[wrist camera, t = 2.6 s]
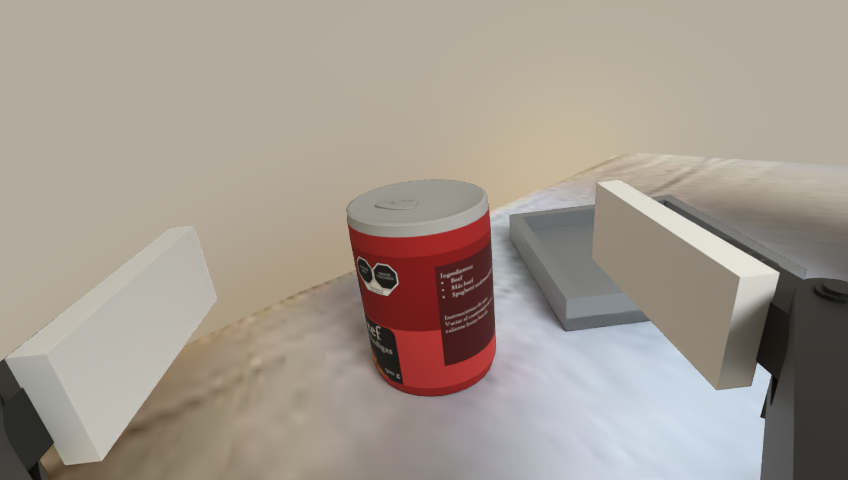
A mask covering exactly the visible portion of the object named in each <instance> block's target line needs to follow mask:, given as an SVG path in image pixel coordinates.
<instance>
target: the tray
mask: <svg viewBox="0 0 848 480" xmlns="http://www.w3.org/2000/svg"><path fill="white" fill-rule="evenodd" d="M652 199H653V200H655V201H657V202H658V203H660V204H662V205H664V206H665V207H667V208H669V209H671V210H672V211H674V212H676V213H677V214H679V215H681V216H683V217H684V218H686V219H688V220H689V221H691V222H693V223H695V224H696V225H698V226H700V227H702V228H703V229H705V230H707V231H708V232H710V233H712V234H714V235H717V236H720V237H723V238H726V239H729V240H732V241H736V242H738V243H739V244H741V245H743V246H745V247H746V248H748V249H750V250H752V253H753V252H755V253H757V254H759V255H761V256H762V257H764V258H765V260H770V261H771V262H773V263H775V264H777V265H778V266H780V267H782V268H784V269H786V270H787V271H789V272H791V273H793V274H794V275H796V276H798V277H800V278H802V279H803V280H804V279H805V275H806V272H807V270H806V269H805V268H803V267H801V266H799V265H797V264H795V263H794V262H792V261H790V260H788V259H786V258H784V257H783V256H781V255H779V254H777V253H775V252H773V251H771V250H770V249H768V248H766V247H764V246H762V245H760V244H759V243H757V242H755V241H753V240H751V239H749V238H748V237H746V236H744V235H742V234H740V233H738V232H737V231H735V230H733V229H731V228H729V227H727V226H726V225H724V224H722V223H720V222H718V221H716V220H715V219H713V218H711V217H709V216H707V215H705V214H704V213H702V212H700V211H698V210H696V209H694V208H693V207H691V206H689V205H687V204H685V203H683V202H682V201H680V200H678V199H676V198H674V197H672V196H670V195H669V196H660V197H652ZM594 216H595V205H587V206H578V207H570V208H562V209H554V210H546V211H537V212H529V213H521V214H513V215H509V217H510V239H511V240H512V242H513V244H514V245H515V247H516V249H517V250H518V252H519V254H520V255H521V257H522V259H523V260H524V262H525V264H526V265H527V267H528V269H529V270H530V272H531V274H532V276H533V277H534V279H535V281H536V282H537V284H538V286H539V287H540V289H541V291H542V292H543V294H544V296H545V297H546V299H547V301H548V302H549V304H550V306H551V307H552V309H553V311H554V312H555V314H556V316H557V317H558V319H559V321H560V322H561V324H562V326H563V327H564V329H565V331H572V330H580V329H588V328H596V327H604V326H612V325H620V324H628V323H636V322H644V321H651V320H650V319H649V318H648V317H647V316H646V315H645V314H644V313H643V312H642V311H641V310H640V309H639V308H638V307H637V306H636V304H635V303H634V302H633V301H632V300H631V299H630V298H629V297H628V296H627V295H626V294H625V293H624V292H623V291H622V290H621V289H620V288H619V286H618V285H617V284H616V283H615V282H614V281H613V280H612V279H611V278H610V277H609V276H608V275H607V274H606V273H605V272H604V271H603V269H602V268H601V267H600V266H599V265H598V264H597V263H596V262H595V261H594V260H593V259H592V248H593V232H594Z"/></svg>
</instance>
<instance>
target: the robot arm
mask: <svg viewBox="0 0 848 480" xmlns="http://www.w3.org/2000/svg"><path fill="white" fill-rule="evenodd" d="M592 259H593V260H594V261H595V262H596V263H597V264H598V265H599V266H600V267H601V268H602V269H603V271H604V272H605V273H606V274H607V275H608V276H609V277H610V278H611V279H612V280H613V281H614V282H615V283H616V284H617V285H618V286H619V288H620V289H621V290H622V291H623V292H624V293H625V294H626V295H627V296H628V297H629V298H630V299H631V300H632V301H633V302H634V303H635V304H636V306H637V307H638V308H639V309H640V310H641V311H642V312H643V313H644V314H645V315H646V316H647V317H648V318H649V319H650V320H651V321H652V322H653V324H654V325H655V326H656V327H657V328H658V329H659V330H660V331H661V332H662V333H663V334H664V335H665V336H666V337H667V338H668V339H669V341H670V342H671V343H672V344H673V345H674V346H675V347H676V348H677V349H678V350H679V351H680V352H681V353H682V354H683V355H684V356H685V357H686V359H687V360H688V361H689V362H690V363H691V364H692V365H693V366H694V367H695V368H696V369H697V370H698V371H699V372H700V373H701V374H702V376H703V377H704V378H705V379H706V380H707V381H708V382H709V383H710V384H711V385H712V386H713V387H714V388H715V389H716V390H722V389H731V388H740V387H748V386H751V385H752V381H753V377H754V373H755V369H756V365H757V362H758V363H759V364H760V365H761V366H762V367H764V368H765V369H766V370H767V371H768V372H769V373H770V374H772V376H771V379H770V383H769V387H768V390H767V394H766V398H765V402H764V405H763V409H762V413H761V416H760V417H761V418H764V419H765V429H764V441H763V454H762V466H761V478H760V480H848V282H846V281H842V280H837V279H827V278H809V279H805V280H803V279H802V278H800V277H798V276H796V275H794V274H793V273H791V272H789V271H787V270H786V269H784V268H782V267H780V266H778V265H777V264H775V263H773V262H771V261H770V260H765V258H764V257H762V256H761V255H759V254H757V253H755V252H753V253H752V250H750V249H748V248H746V247H745V246H743V245H741V244H739V243H738V242H736V241H732V240H729V239H726V238H723V237H720V236H717V235H714V234H712V233H710V232H708V231H707V230H705V229H703V228H702V227H700V226H698V225H696V224H695V223H693V222H691V221H689V220H688V219H686V218H684V217H683V216H681V215H679V214H677V213H676V212H674V211H672V210H671V209H669V208H667V207H665V206H664V205H662V204H660V203H658V202H657V201H655V200H653V199H652V198H650V197H648V196H646V195H645V194H643V193H641V192H639V191H638V190H636V189H634V188H633V187H631V186H629V185H627V184H626V183H624V182H622V181H621V180H615V181H606V182H597V184H596V200H595V216H594V232H593V248H592ZM216 301H217V296H216V293H215V289H214V286H213V283H212V280H211V277H210V274H209V270H208V267H207V264H206V261H205V258H204V255H203V252H202V249H201V245H200V242H199V239H198V236H197V233H196V230H195V227H194V225H192V226H183V227H173V228H170V229H168V230H167V231H166V232H164V233H163V234H162V235H161V236H159V237H158V238H157V239H156V240H154V241H153V242H152V243H151V244H149V245H148V246H147V247H145V248H144V249H143V250H142V251H140V252H139V253H138V254H137V255H135V256H134V257H133V258H131V259H130V260H129V261H128V262H127V263H125V264H124V265H123V266H121V267H120V268H119V269H118V270H116V271H115V272H114V273H112V274H111V275H110V276H109V277H107V278H106V279H105V280H104V281H102V282H101V283H100V284H98V285H97V286H96V287H95V288H94V289H92V290H91V291H90V292H88V293H87V294H86V295H85V296H83V297H82V298H81V299H80V300H78V301H77V302H76V303H75V304H73V305H72V306H71V307H69V308H68V309H67V310H66V311H65V312H63V313H62V314H60V315H59V316H58V317H56V318H55V319H54V320H53V321H51V322H50V323H49V324H47V325H46V326H45V327H44V328H42V329H41V330H40V331H39V332H38V333H36V334H35V335H33V336H32V337H31V338H30V339H28V340H27V341H26V342H25V343H24V344H22V345H21V346H20V347H18V348H17V349H16V350H15V351H13V352H12V353H11V354H9V355H8V356H7V357H6V358H4V359H3V360H2V361H1V362H0V480H48V474H47V472H46V470H45V468H44V467H43V465H42V463H41V462H40V458H41V457H42V456H43V455H44V454H45V453H46V452H47V450H48V449H49V448H50V447H51V446H52V445H54V447H55V448H56V450H57V452H58V454H59V455H60V457H61V459H62V461H63V462H64V464H65V465H72V464H80V463H89V462H98V461H102V460H103V459H104V457H105V456H106V455H107V453H108V452H109V450H110V449H111V448H112V446H113V445H114V443H115V442H116V441H117V439H118V438H119V436H120V435H121V434H122V432H123V431H124V429H125V428H126V427H127V425H128V424H129V422H130V421H131V420H132V418H133V417H134V415H135V414H136V413H137V411H138V410H139V408H140V407H141V406H142V404H143V403H144V401H145V400H146V399H147V397H148V396H149V394H150V393H151V392H152V390H153V389H154V387H155V386H156V385H157V383H158V382H159V380H160V379H161V378H162V376H163V375H164V373H165V372H166V371H167V369H168V368H169V366H170V365H171V364H172V362H173V361H174V359H175V358H176V357H177V355H178V354H179V352H180V351H181V350H182V348H183V347H184V345H185V344H186V343H187V341H188V339H189V338H190V337H191V336H192V334H193V333H194V331H195V330H196V329H197V327H198V326H199V324H200V323H201V321H202V320H203V319H204V317H205V316H206V315H207V313H208V312H209V310H210V309H211V307H212V306H213V305H214V303H215V302H216Z"/></svg>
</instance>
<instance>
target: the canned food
mask: <svg viewBox="0 0 848 480" xmlns="http://www.w3.org/2000/svg"><path fill="white" fill-rule="evenodd" d="M346 211H347V222H348V228H349V234H350V241H351V246H352V251H353V256H354V261H355V266H356V271H357V276H358V281H359V287H360V292H361V297H362V302H363V307H364V312H365V317H366V322H367V327H368V333H369V338H370V343H371V348H372V353H373V358H374V363H375V364H376V366H377V368H378V370H379V371H380V373H381V375H382V376H383V378H384V379H385V380H386V381H387V382H388V383H389V384H390V385H392V386H393V387H395V388H397V389H398V390H401V391H404V392H406V393H410V394H414V395H420V396H440V395H447V394H452V393H456V392H459V391H461V390H464V389H467V388H469V387H470V386H472V385H474V384H476V383H477V382H478V381H479V380H481V379H482V378H483V377H484V376H485V375H486V373H487V372H488V371H489V369H490V367H491V364H492V361H493V358H494V355H495V351H496V336H495V315H494V293H493V271H492V250H491V228H490V216H489V204H488V201H487V194H486V192H485V191H484V190H483V189H482V188H480V187H478V186H476V185H474V184H470V183H466V182H462V181H455V180H437V179H434V180H417V181H408V182H402V183H396V184H392V185H387V186H384V187H380V188H377V189H374V190H371V191H368V192H367V193H364V194H362V195H360V196H358V197H357V198H355V199H354V200H352V201H351V202H350V203H349V205H348V206H347V209H346Z"/></svg>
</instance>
